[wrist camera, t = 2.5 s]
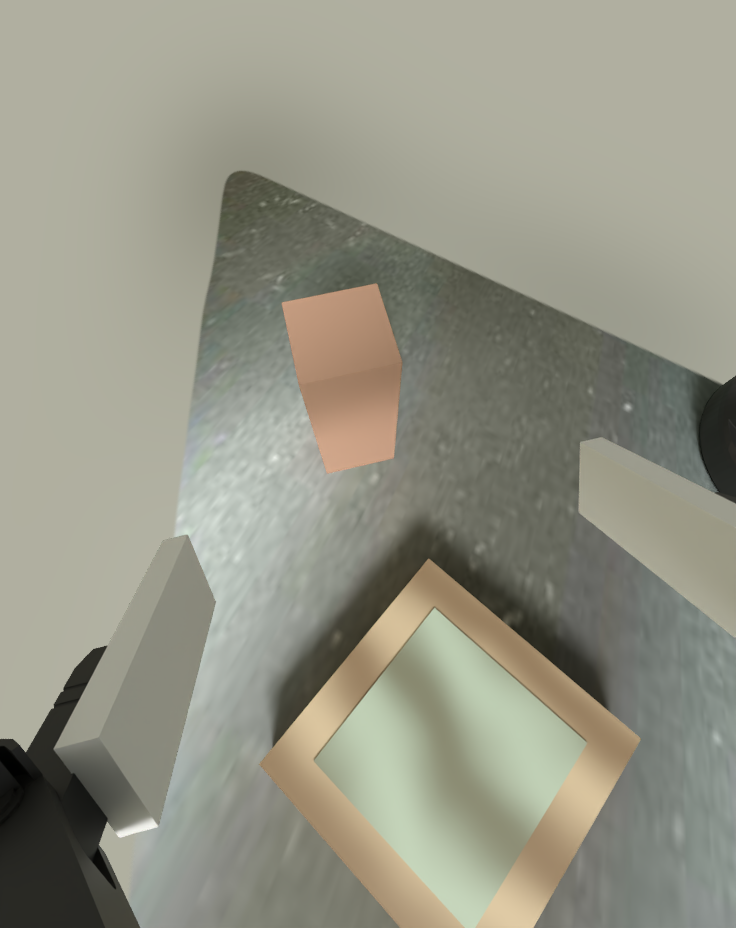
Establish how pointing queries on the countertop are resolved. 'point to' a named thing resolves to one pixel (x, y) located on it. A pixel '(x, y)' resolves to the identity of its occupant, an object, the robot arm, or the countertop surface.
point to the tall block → (347, 374)
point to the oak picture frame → (451, 763)
